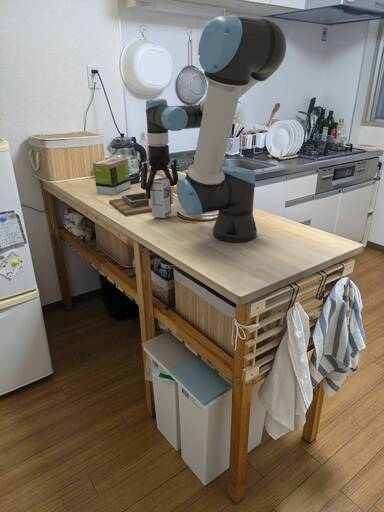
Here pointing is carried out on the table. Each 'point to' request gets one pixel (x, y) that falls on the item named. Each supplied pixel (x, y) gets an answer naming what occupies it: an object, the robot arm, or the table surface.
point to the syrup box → (161, 197)
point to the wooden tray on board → (132, 204)
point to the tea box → (111, 175)
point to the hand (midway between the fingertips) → (161, 204)
